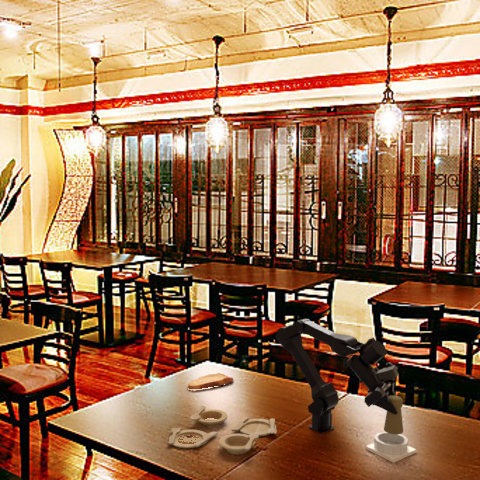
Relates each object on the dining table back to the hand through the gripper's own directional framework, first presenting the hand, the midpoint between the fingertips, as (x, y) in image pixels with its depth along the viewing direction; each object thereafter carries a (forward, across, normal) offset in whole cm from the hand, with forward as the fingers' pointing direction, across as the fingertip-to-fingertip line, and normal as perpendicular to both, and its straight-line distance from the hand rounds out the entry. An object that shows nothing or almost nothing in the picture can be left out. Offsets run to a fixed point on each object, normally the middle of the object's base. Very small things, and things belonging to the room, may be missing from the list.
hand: (398, 410), depth 176 cm
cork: (+4, 0, +6) cm, 7 cm away
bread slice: (-48, +25, +69) cm, 88 cm away
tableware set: (-28, -15, +48) cm, 58 cm away
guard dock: (+8, -2, +10) cm, 13 cm away
